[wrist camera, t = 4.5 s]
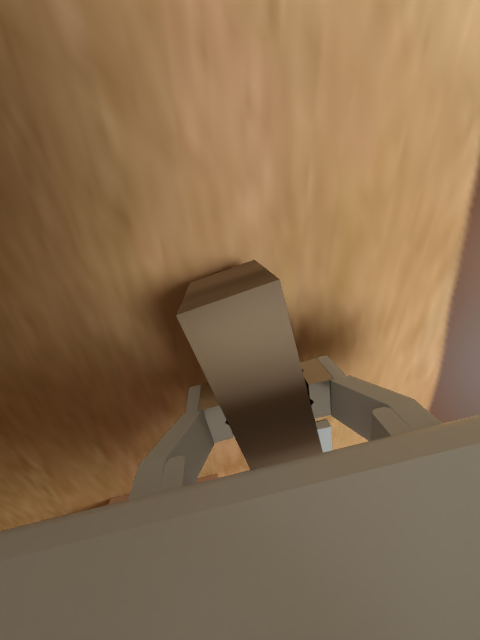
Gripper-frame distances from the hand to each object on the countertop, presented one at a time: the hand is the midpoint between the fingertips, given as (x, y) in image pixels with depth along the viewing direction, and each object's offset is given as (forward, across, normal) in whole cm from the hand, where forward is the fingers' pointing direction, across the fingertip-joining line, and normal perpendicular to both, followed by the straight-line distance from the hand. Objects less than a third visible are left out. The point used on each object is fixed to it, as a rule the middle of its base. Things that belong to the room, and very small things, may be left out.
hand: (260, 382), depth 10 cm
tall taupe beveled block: (+2, 0, 0) cm, 2 cm away
